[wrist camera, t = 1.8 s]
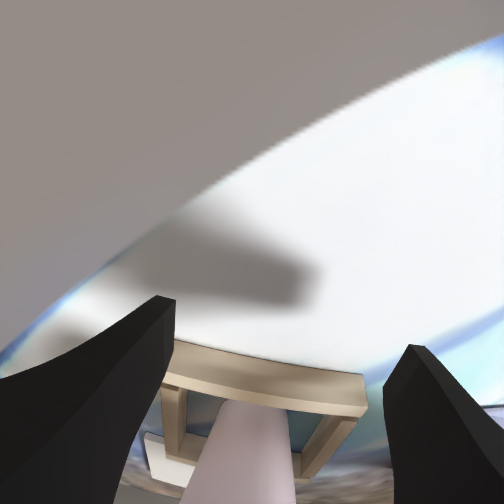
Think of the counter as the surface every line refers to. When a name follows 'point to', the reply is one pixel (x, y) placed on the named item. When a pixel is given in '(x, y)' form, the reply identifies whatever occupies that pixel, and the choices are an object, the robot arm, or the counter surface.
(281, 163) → the counter surface
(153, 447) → the coaster pad
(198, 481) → the smoothie
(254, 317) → the counter surface
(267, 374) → the collar
